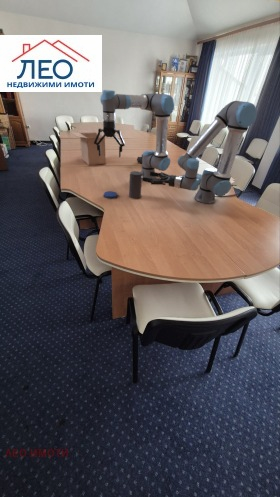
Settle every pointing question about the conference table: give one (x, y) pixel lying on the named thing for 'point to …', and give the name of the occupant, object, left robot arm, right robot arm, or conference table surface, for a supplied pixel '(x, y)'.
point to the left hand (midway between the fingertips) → (109, 156)
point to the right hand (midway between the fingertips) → (146, 176)
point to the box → (91, 147)
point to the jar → (135, 184)
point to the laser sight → (139, 159)
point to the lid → (110, 194)
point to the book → (197, 177)
